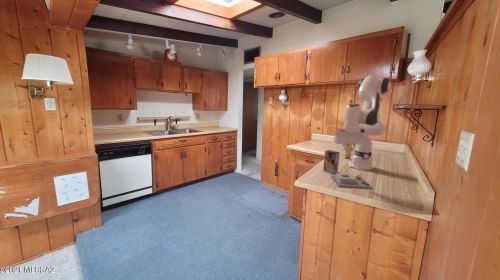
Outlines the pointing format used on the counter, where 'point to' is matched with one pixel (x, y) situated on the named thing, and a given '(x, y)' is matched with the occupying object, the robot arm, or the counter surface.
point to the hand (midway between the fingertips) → (348, 150)
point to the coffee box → (331, 161)
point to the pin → (348, 151)
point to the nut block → (350, 181)
